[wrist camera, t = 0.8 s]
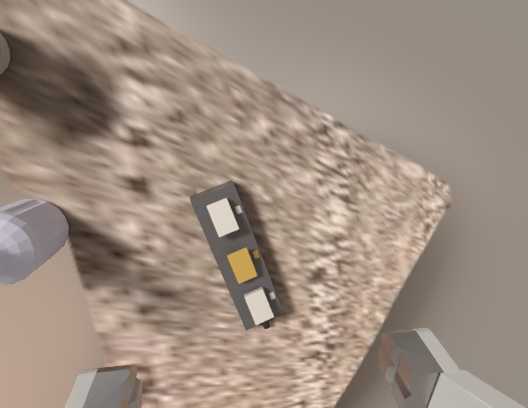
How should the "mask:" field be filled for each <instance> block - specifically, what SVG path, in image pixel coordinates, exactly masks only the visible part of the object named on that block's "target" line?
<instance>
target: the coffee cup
mask: <svg viewBox="0 0 528 408" xmlns="http://www.w3.org/2000/svg"><path fill="white" fill-rule="evenodd" d="M9 62H10V49H9V46H8V44H7V41H6V40H5V38H4V37H3V35H2V34H1V33H0V75H1V74H2V73H3V72H4V71H5V70H6V69H7V68H8V65H9Z"/></svg>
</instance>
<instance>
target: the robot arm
mask: <svg viewBox="0 0 528 408" xmlns="http://www.w3.org/2000/svg"><path fill="white" fill-rule="evenodd" d="M381 341H382V343H383V346H382V347H381V348H380V349H379V352H378V362H379V366H380V370H381V372H382V374H383V377H384V379H385V380H387V381H388V382H389V383H391V384H392V390H391V393H392V395H393V396H394V399H395V400H396V402H397V405H398V407H399V408H525V407H524V406H522V405H520V404H519V403H517V402H516V401H514V400H512V399H511V398H509V397H508V396H506V395H504V394H503V393H501V392H500V391H498V390H496V389H495V388H493V387H492V386H490V385H489V384H487V383H485V382H484V381H482V380H481V379H479V378H477V377H476V376H474V375H473V374H471V373H469V372H468V371H466V370H460V369H459V367H458V366H457V365H456V363H455V362H454V361H453V359H452V358H451V357H450V355H449V354H448V353H447V352H446V350H445V349H444V347H443V346H442V345H441V343H440V342H439V341H438V340H437V338H436V337H435V335H434V334H433V333H432V332H431V330H430V329H428V328H427V327H426V328H417V329H407V330H400V331H393V332H386V333H384V334H383V335H382V338H381ZM136 376H137V368H136V366H135V364H134V365H124V366H114V367H104V368H95V369H87V370H82V372H81V373H80V374H79V375H78V377H77V380H76V382H75V385H74V387H73V389H72V392H71V394H70V396H69V399H68V401H67V403H66V406H65V408H141V405H142V393H143V392H142V384H141V381H140V380H139V379H137V378H136Z"/></svg>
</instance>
